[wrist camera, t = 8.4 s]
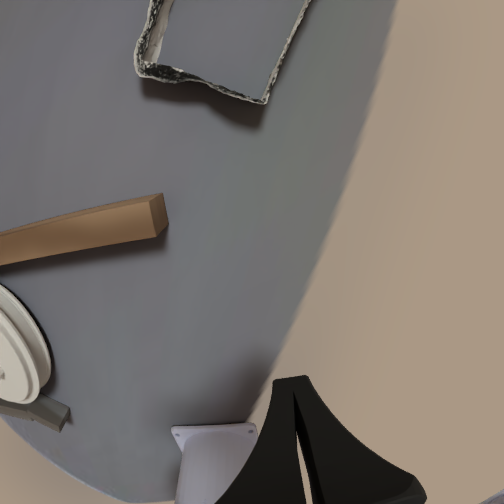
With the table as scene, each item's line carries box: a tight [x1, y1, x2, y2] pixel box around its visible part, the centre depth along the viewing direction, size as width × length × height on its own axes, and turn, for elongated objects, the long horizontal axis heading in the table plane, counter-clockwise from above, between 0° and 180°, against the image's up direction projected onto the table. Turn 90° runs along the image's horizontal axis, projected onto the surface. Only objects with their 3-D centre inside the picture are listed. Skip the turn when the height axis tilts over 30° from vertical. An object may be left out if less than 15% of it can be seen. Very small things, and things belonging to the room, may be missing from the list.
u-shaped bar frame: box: [0, 193, 169, 433], centre depth 21 cm, size 20×28×3 cm
